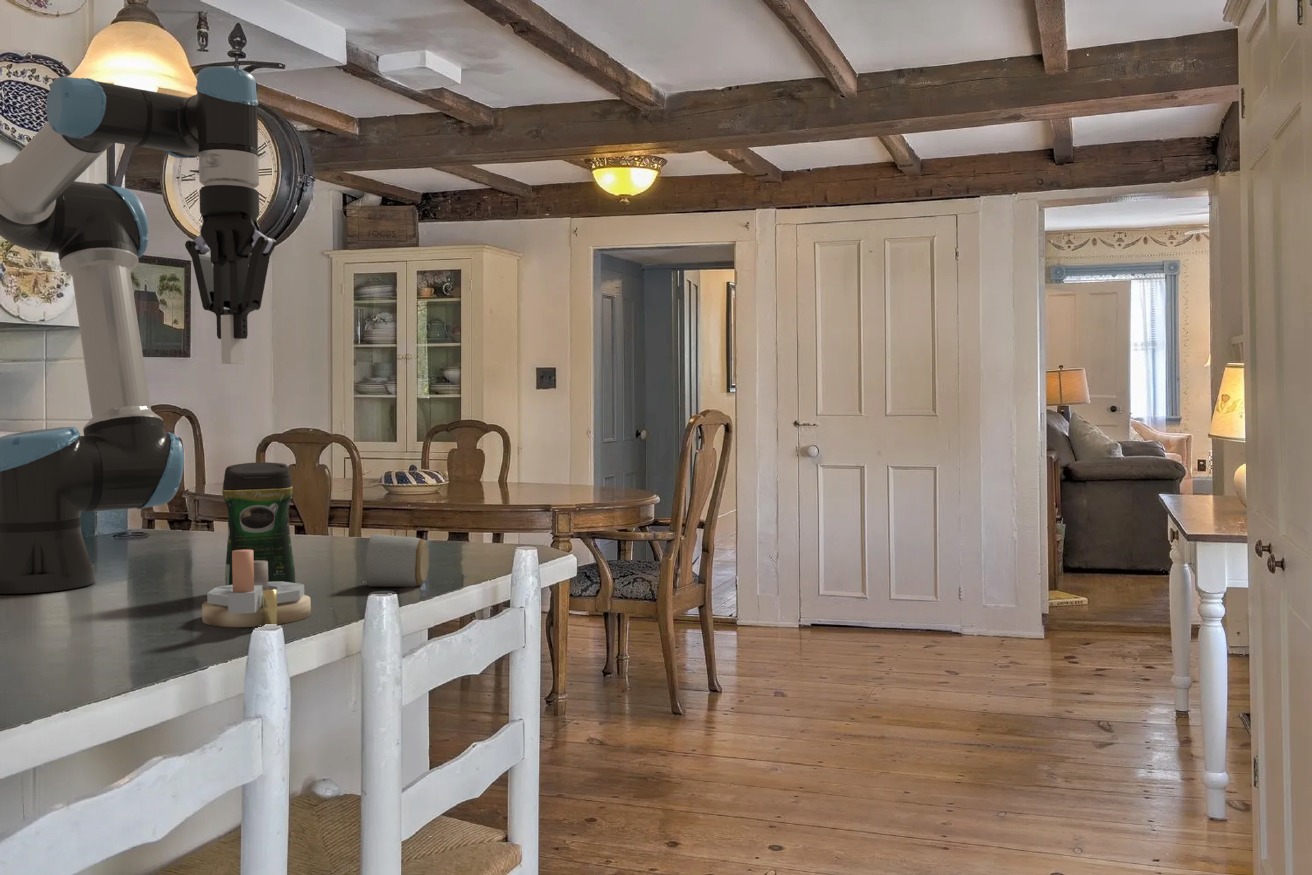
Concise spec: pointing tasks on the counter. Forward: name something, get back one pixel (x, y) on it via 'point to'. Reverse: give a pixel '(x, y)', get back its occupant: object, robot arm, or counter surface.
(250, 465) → the coffee jar
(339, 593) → the counter surface
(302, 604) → the pedestal
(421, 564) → the ceramic mug
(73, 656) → the counter surface
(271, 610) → the dowel pin
